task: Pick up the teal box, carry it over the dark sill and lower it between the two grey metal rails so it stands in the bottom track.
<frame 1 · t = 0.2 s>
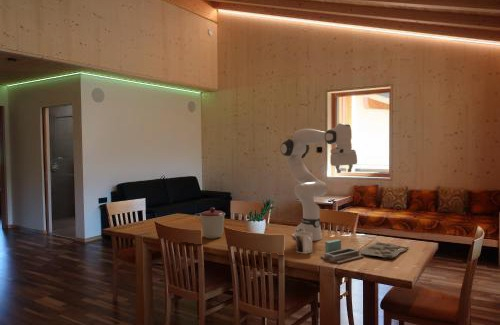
hand: (344, 172, 241), 47 cm above the table, tool pointing down, fingers open, 8 cm apart
mug: (304, 252, 237), on the table
canister: (213, 237, 278), on the table
track sill: (342, 257, 224), on the table
stone relief: (383, 253, 234), on the table
teal box: (333, 252, 235), on the table
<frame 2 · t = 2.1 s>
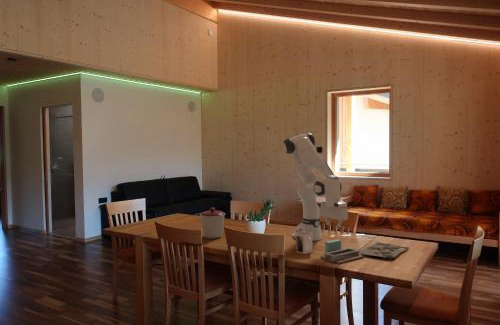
hand: (333, 225, 234), 16 cm above the table, tool pointing down, fingers open, 8 cm apart
nothing on the table moved.
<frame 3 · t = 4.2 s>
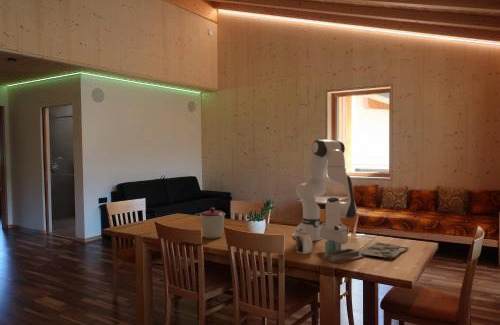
hand: (333, 248, 235), 3 cm above the table, tool pointing down, fingers closed on teal box, 3 cm apart
teal box: (333, 252, 235), on the table, touching gripper
everything else where it was.
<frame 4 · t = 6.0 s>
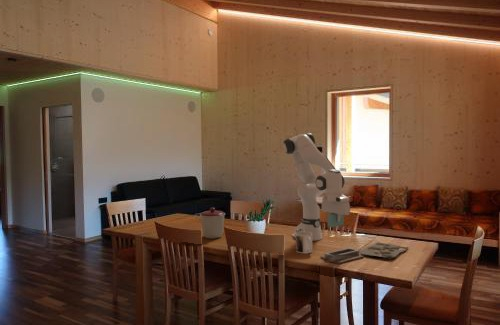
hand: (335, 220, 230), 20 cm above the table, tool pointing down, fingers closed on teal box, 3 cm apart
teal box: (335, 225, 230), point 17 cm above the table, touching gripper
everything else where it was.
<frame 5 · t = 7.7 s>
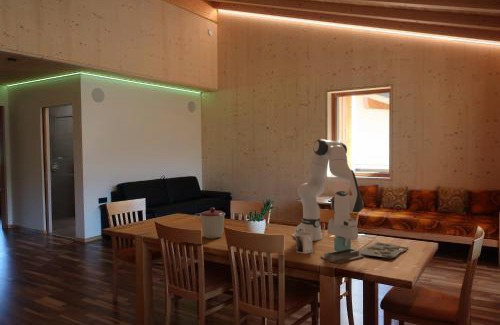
hand: (342, 244, 223), 8 cm above the table, tool pointing down, fingers closed on teal box, 3 cm apart
teal box: (342, 249, 224), point 5 cm above the table, touching gripper
everything else where it was.
when the fingers open (5 cm above the table, at t = 8.8 s): teal box drops 1 cm, resting on track sill.
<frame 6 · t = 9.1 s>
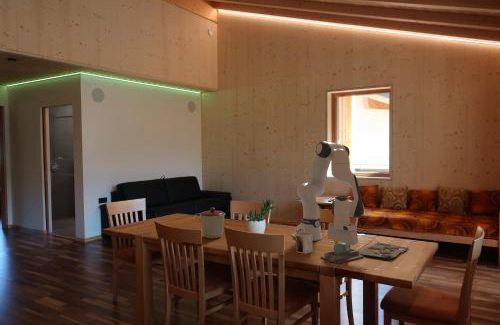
hand: (342, 249, 224), 5 cm above the table, tool pointing down, fingers open, 5 cm apart
stone relief: (383, 253, 234), on the table, touching track sill
teal box: (342, 256, 224), point 1 cm above the table, touching track sill
everything else where it was.
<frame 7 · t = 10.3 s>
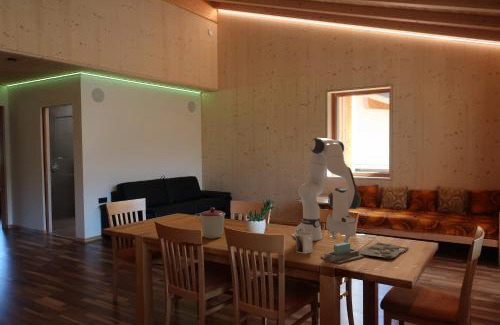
hand: (339, 240, 223), 10 cm above the table, tool pointing down, fingers open, 8 cm apart
stone relief: (383, 253, 234), on the table
everything else where it was.
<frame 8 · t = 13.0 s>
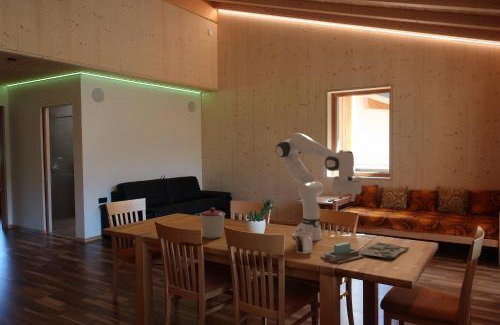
hand: (346, 200, 235), 31 cm above the table, tool pointing down, fingers open, 8 cm apart
nothing on the table moved.
at the end: teal box inside the target area on the track sill (0.3 cm from its centre), point 1.0 cm above the track sill's base; teal box tilted 0°; the gripper is holding nothing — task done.
